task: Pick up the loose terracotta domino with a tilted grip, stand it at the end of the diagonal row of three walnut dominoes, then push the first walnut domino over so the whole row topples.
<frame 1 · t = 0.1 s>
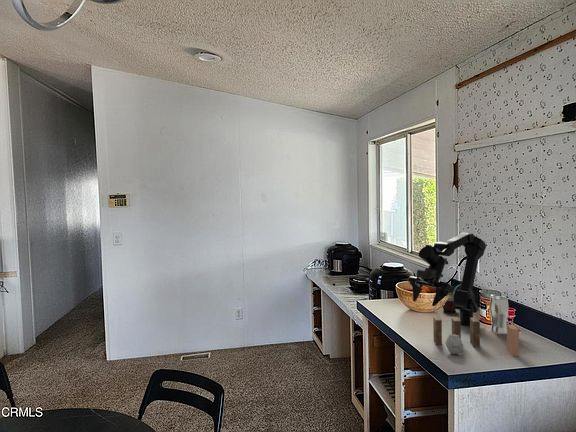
hand: (423, 303, 162), 15 cm above the worktop, tool tilted 35°, fingers open, 9 cm apart
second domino: (456, 343, 157), on the worktop
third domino: (475, 344, 156), on the worktop
grey faceted rock: (454, 354, 147), on the worktop
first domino: (437, 342, 159), on the worktop
beer glass: (499, 332, 168), on the worktop
mate gourd: (450, 312, 198), on the worktop
loose domino: (512, 353, 146), on the worktop
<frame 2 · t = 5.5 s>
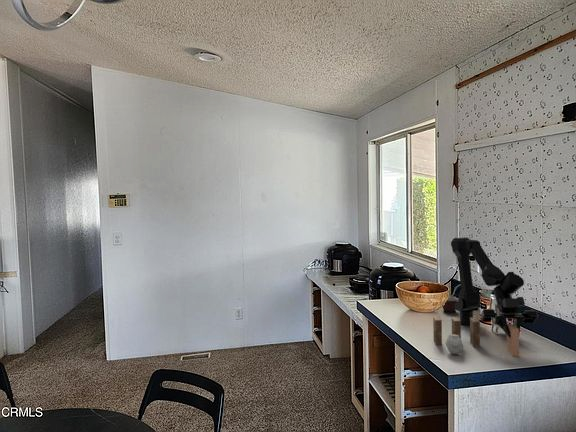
hand: (514, 337, 144), 7 cm above the worktop, tool tilted 45°, fingers closed on loose domino, 2 cm apart
loose domino: (512, 353, 146), on the worktop, touching gripper
everything else where it was.
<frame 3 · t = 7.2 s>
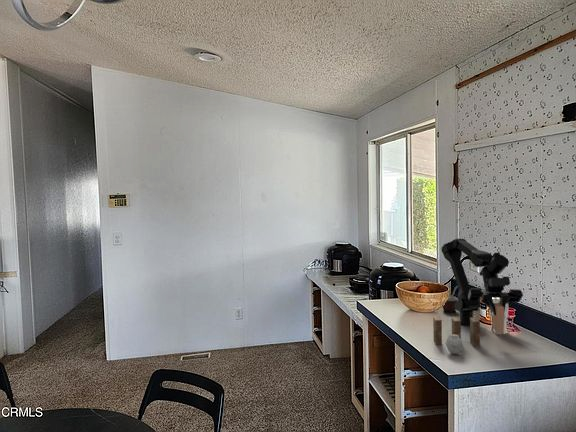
hand: (499, 314, 150), 13 cm above the worktop, tool tilted 45°, fingers closed on loose domino, 2 cm apart
loose domino: (498, 330, 152), point 6 cm above the worktop, touching gripper
everything else where it was.
when the fingers open (8 cm above the worktop, at t = 9.1 s): loose domino drops 1 cm, on the worktop.
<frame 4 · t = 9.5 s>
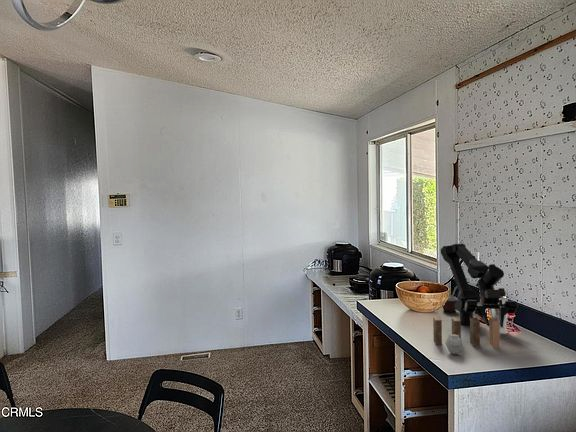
hand: (495, 326, 152), 8 cm above the worktop, tool tilted 45°, fingers open, 4 cm apart
loose domino: (494, 345, 154), on the worktop
everything else where it was.
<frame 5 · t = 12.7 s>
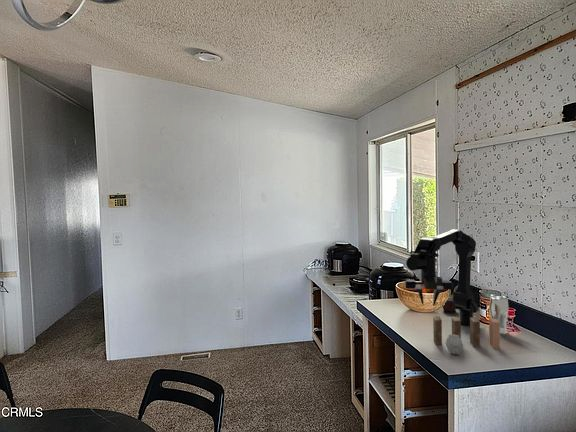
hand: (428, 304, 166), 13 cm above the worktop, tool pointing down, fingers open, 4 cm apart
nothing on the worktop moved.
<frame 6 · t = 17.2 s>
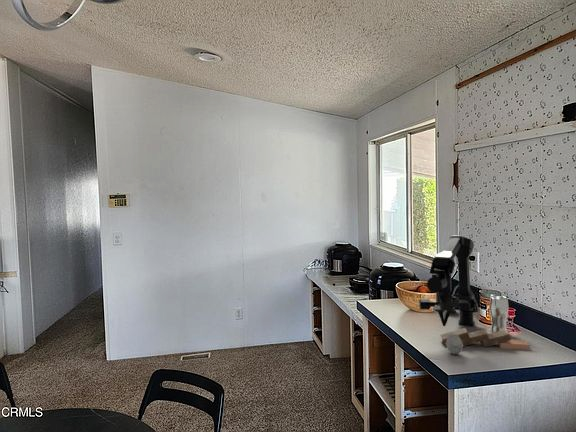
hand: (443, 325, 158), 7 cm above the worktop, tool pointing down, fingers closed
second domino: (460, 341, 157), point 1 cm above the worktop, tilted 71°, touching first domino
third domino: (481, 341, 155), point 1 cm above the worktop, tilted 73°, touching loose domino
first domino: (442, 340, 158), point 1 cm above the worktop, tilted 70°, touching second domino
loose domino: (498, 343, 154), point 1 cm above the worktop, tilted 90°, touching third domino
everything else where it was.
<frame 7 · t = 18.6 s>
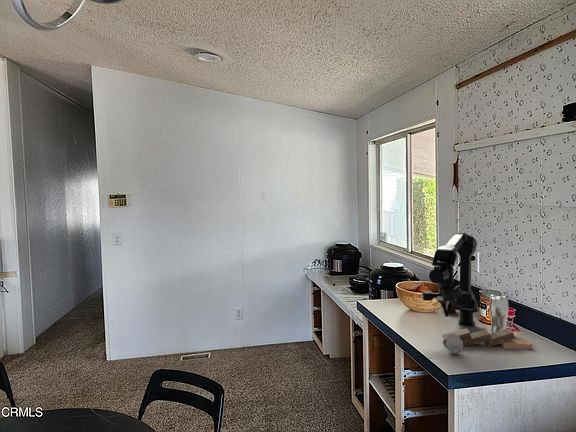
hand: (446, 316, 162), 9 cm above the worktop, tool pointing down, fingers closed
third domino: (486, 341, 155), point 1 cm above the worktop, tilted 72°, touching loose domino
loose domino: (501, 343, 154), point 1 cm above the worktop, tilted 90°, touching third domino
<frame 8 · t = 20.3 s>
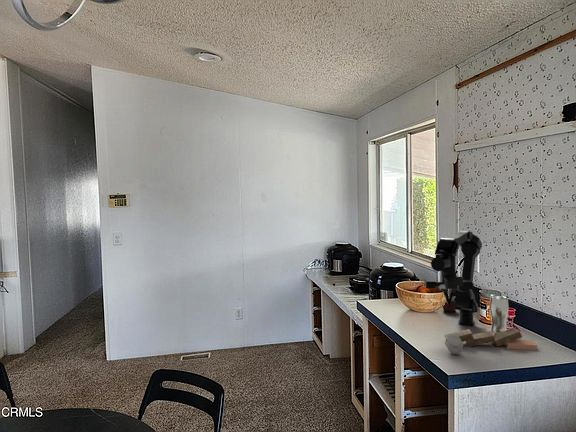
hand: (448, 304, 167), 13 cm above the worktop, tool pointing down, fingers closed
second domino: (466, 341, 156), point 1 cm above the worktop, tilted 75°, touching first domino, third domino
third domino: (493, 341, 155), point 1 cm above the worktop, tilted 68°, touching loose domino, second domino
loose domino: (505, 344, 154), point 1 cm above the worktop, tilted 90°, touching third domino
at the end: loose domino tilted 90°; loose domino inside the target area (4.0 cm from its centre), point 0.6 cm above the worktop; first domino tilted 72° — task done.
